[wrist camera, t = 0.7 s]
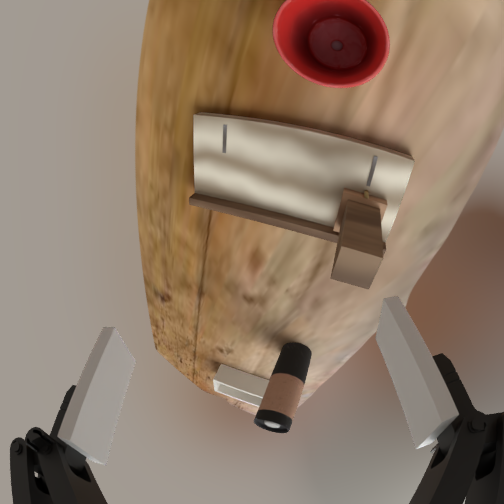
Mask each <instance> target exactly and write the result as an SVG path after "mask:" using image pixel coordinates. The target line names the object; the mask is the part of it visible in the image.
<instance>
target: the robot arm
mask: <svg viewBox="0 0 504 504" xmlns="http://www.w3.org/2000/svg"><path fill="white" fill-rule="evenodd" d="M376 341H377V343H378V345H379V348H380V350H381V353H382V355H383V358H384V360H385V362H386V365H387V368H388V370H389V373H390V375H391V378H392V381H393V384H394V386H395V389H396V392H397V394H398V397H399V400H400V403H401V406H402V408H403V411H404V414H405V417H406V420H407V423H408V426H409V429H410V432H411V436H412V438H413V442H414V445H415V448H416V449H418V448H421V447H423V446H426V445H428V444H431V443H432V442H433V441H434V440H435V439H436V438H437V440H438V444H437V445H436V446H435V447H434V448H433V449H432V450H431V452H430V453H433V452H434V451H435V452H434V454H433V456H432V459H431V461H430V463H429V466H428V468H427V470H426V472H425V474H424V476H423V478H422V480H421V483H420V484H419V486H418V488H417V490H416V492H415V494H414V496H413V497H412V499H411V501H410V503H409V504H463V502H464V499H465V497H466V500H465V504H504V412H502V413H496V414H489V415H485V414H484V413H481V412H480V411H477V410H476V409H475V408H474V406H473V405H472V403H471V400H470V398H469V396H468V394H467V392H466V390H465V388H464V386H463V384H462V382H461V380H460V379H459V376H458V374H457V372H456V370H455V368H454V366H453V364H452V363H451V361H450V360H449V359H448V358H447V357H446V356H445V355H444V354H438V355H436V356H432V355H431V354H430V352H429V350H428V348H427V346H426V344H425V342H424V340H423V339H422V337H421V335H420V333H419V331H418V330H417V328H416V326H415V324H414V323H413V321H412V319H411V317H410V315H409V314H408V312H407V310H406V309H405V307H404V305H403V304H402V302H401V300H400V299H399V297H398V296H394V297H389V298H384V299H383V305H382V310H381V315H380V320H379V325H378V329H377V334H376ZM135 362H136V361H135V359H134V358H133V356H132V354H131V353H130V351H129V350H128V348H127V346H126V345H125V343H124V342H123V340H122V338H121V337H120V335H119V334H118V332H117V330H116V328H115V327H104V328H103V329H102V331H101V333H100V335H99V337H98V339H97V341H96V343H95V346H94V348H93V350H92V352H91V354H90V356H89V358H88V361H87V363H86V365H85V367H84V370H83V372H82V374H81V377H80V379H79V381H78V383H77V386H75V385H73V386H72V387H71V388H70V389H69V390H68V391H67V393H66V395H65V397H64V400H63V403H62V405H61V407H60V410H59V412H58V415H57V417H56V420H55V423H54V426H53V428H52V431H51V434H50V435H48V434H47V433H45V432H44V431H43V430H41V429H40V428H38V427H34V428H32V429H30V430H29V431H28V433H27V434H26V437H25V440H24V439H22V438H16V439H14V440H13V441H12V443H11V447H10V470H11V486H12V496H13V504H107V502H106V500H105V498H104V496H103V494H102V492H101V490H100V488H99V486H98V484H97V482H96V480H95V478H94V476H93V474H92V471H91V469H90V467H89V465H88V463H87V462H86V461H85V460H86V457H87V458H88V459H90V460H91V461H93V462H96V463H99V464H103V465H106V464H107V460H108V455H109V452H110V447H111V444H112V439H113V436H114V432H115V428H116V424H117V421H118V418H119V414H120V411H121V407H122V404H123V400H124V397H125V394H126V390H127V387H128V384H129V381H130V378H131V375H132V371H133V368H134V365H135ZM34 471H35V472H37V473H38V477H35V473H34Z"/></svg>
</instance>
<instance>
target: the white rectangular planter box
mask: <svg viewBox="0 0 504 504" xmlns="http://www.w3.org/2000/svg"><path fill="white" fill-rule="evenodd" d="M213 381H214V390H215V391H216V392H219V393H222V394H224V395H227V396H229V397H232V398H235V399H238V400H240V401H243V402H246V403H249V404H252V405H255V406H258V407H260V404H261V402H262V399H263V396H264V394H265V391H266V388H267V386H268V383H269V380H267V379H264V378H261V377H258V376H255V375H252V374H249V373H246V372H243V371H240V370H237V369H235V368H232V367H229V366H227V365H224V364H221V365H220V367H219V369H218V371H217V373H216V375H215V377H214V379H213Z"/></svg>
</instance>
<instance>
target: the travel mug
mask: <svg viewBox="0 0 504 504" xmlns="http://www.w3.org/2000/svg"><path fill="white" fill-rule="evenodd" d="M310 359H311V351H310V349H309V348H308V347H306V346H304V345H302V344H299V343H287V344H285V345H284V346H283V348H282V351H281V353H280V355H279V358H278V360H277V363H276V365H275V368H274V370H273V373H272V375H271V378H270V380H269V383H268V386H267V388H266V391H265V394H264V396H263V399H262V402H261V404H260V407H259V409H258V412H257V414H256V417H255V419H254V423H255V424H256V425H257V426H259V427H261V428H263V429H266V430H268V431H272V432H276V433H287V432H288V431H289V429H290V426H291V424H292V421H293V418H294V415H295V412H296V409H297V406H298V403H299V400H300V397H301V394H302V391H303V387H304V384H305V380H306V376H307V372H308V368H309V364H310Z"/></svg>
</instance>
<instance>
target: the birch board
mask: <svg viewBox="0 0 504 504" xmlns="http://www.w3.org/2000/svg"><path fill="white" fill-rule="evenodd" d="M414 162H415V161H414V159H413V157H412V156H409V155H406V154H404V153H401V152H398V151H395V150H391V149H388V148H385V147H382V146H379V145H375V144H372V143H369V142H365V141H362V140H358V139H354V138H350V137H347V136H343V135H339V134H335V133H331V132H326V131H322V130H317V129H313V128H308V127H303V126H298V125H293V124H288V123H282V122H276V121H270V120H264V119H257V118H250V117H242V116H234V115H225V114H215V113H204V112H200V113H197V114H194V184H195V193H194V194H193V195H192V196H191V197H190V198H189V205H193V206H198V207H202V208H206V209H210V210H214V211H218V212H222V213H226V214H230V215H234V216H238V217H242V218H246V219H250V220H254V221H258V222H261V223H265V224H269V225H273V226H277V227H280V228H284V229H288V230H292V231H295V232H299V233H303V234H306V235H310V236H314V237H317V238H321V239H324V240H328V241H331V242H335V243H337V242H338V236H339V232H336V231H333V229H334V224H335V220H336V217H337V213H338V209H339V206H340V202H341V198H342V194H343V190H344V188H347V189H351V190H354V191H358V192H361V193H364V191H365V190H368V192H369V195H372V196H375V197H378V198H381V199H385V200H387V208H386V211H385V214H384V217H383V219H382V222H381V227H382V242H383V256H384V253H385V251H386V240H387V238H388V235H389V233H390V230H391V228H392V225H393V223H394V220H395V217H396V215H397V212H398V209H399V207H400V204H401V201H402V198H403V195H404V193H405V190H406V187H407V184H408V181H409V178H410V175H411V171H412V168H413V165H414Z"/></svg>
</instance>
